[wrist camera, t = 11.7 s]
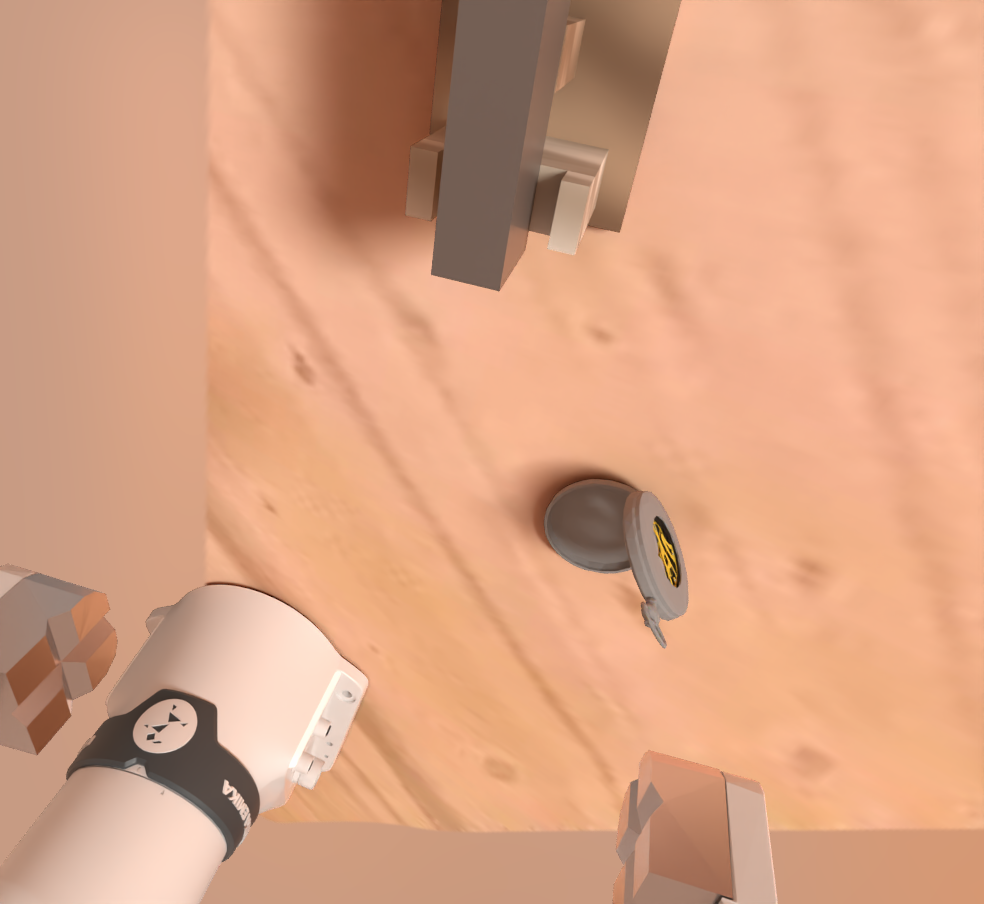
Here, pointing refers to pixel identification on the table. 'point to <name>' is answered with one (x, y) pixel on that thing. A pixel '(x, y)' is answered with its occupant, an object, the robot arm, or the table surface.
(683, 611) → the pocket watch
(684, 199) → the table surface
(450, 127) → the long grey beam
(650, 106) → the display stand
